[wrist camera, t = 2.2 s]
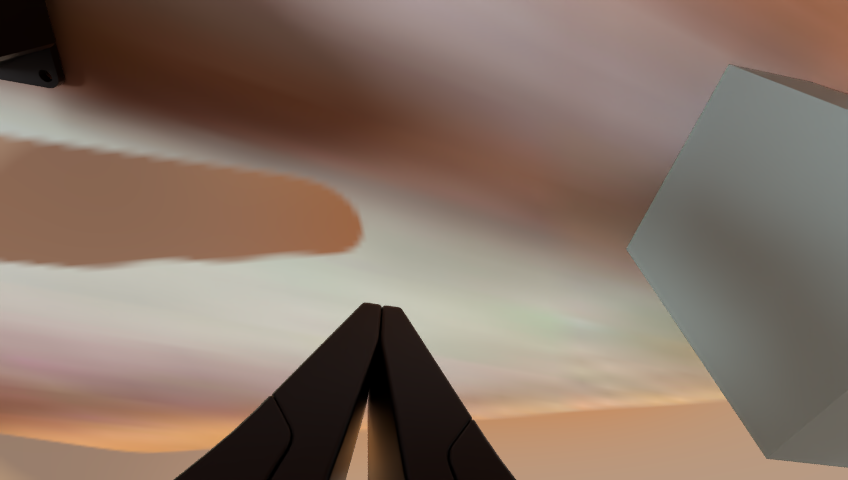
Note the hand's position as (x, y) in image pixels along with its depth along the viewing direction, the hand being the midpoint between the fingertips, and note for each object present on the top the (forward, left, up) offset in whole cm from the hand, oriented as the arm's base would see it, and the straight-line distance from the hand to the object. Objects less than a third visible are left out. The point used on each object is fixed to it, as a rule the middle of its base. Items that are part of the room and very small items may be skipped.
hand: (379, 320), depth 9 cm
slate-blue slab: (+15, 0, -13) cm, 20 cm away
